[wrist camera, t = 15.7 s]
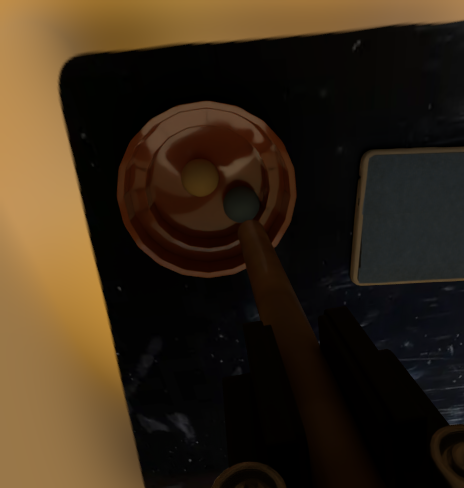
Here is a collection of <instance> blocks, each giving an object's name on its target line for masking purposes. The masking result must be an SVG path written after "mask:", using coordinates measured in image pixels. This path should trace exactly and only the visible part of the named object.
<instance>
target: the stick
mask: <svg viewBox="0 0 464 488" xmlns="http://www.w3.org/2000/svg"><path fill="white" fill-rule="evenodd" d="M238 239H239V242H240V246H241V250H242V253H243V257H244V261H245V264H246V268H247V272H248V276H249V279H250V283H251V287H252V290H253V294H254V298H255V302H256V305H257V309H258V313H259V316H260V320H261V321H262V322H263V325H270V324H271V326H272V330H273V333H274V336H275V339H276V342H277V345H278V348H279V351H280V354H281V358H282V361H283V364H284V367H285V370H286V373H287V376H288V379H289V382H290V386H291V389H292V392H293V395H294V398H295V401H296V404H297V407H298V410H299V414H300V417H301V420H302V423H303V426H304V430H305V434H306V438H307V443H308V449H309V458H310V467H311V476H312V485H313V488H387V486H386V484H385V482H384V481H383V479H382V477H381V475H380V473H379V471H378V468H377V466H376V464H375V462H374V460H373V458H372V456H371V454H370V451H369V449H368V447H367V445H366V443H365V441H364V439H363V437H362V434H361V432H360V430H359V428H358V426H357V424H356V422H355V420H354V418H353V415H352V413H351V411H350V409H349V407H348V405H347V403H346V401H345V398H344V396H343V394H342V392H341V390H340V388H339V386H338V384H337V382H336V379H335V377H334V375H333V373H332V371H331V369H330V367H329V365H328V362H327V360H326V358H325V356H324V354H323V352H322V350H321V348H320V345H319V343H318V341H317V339H316V337H315V334H314V332H313V330H312V328H311V326H310V324H309V322H308V320H307V318H306V315H305V313H304V311H303V309H302V307H301V305H300V303H299V301H298V299H297V296H296V294H295V292H294V290H293V288H292V286H291V284H290V282H289V280H288V277H287V275H286V273H285V271H284V269H283V267H282V265H281V263H280V261H279V258H278V256H277V254H276V252H275V250H274V248H273V246H272V244H271V242H270V239H269V237H268V235H267V233H266V231H265V229H264V227H263V225H262V224H261V223H260V222H258V221H256V220H247V221H244V222H243V223H242V224H241V225H240V226H239V228H238Z"/></svg>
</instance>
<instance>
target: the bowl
mask: <svg viewBox="0 0 464 488" xmlns="http://www.w3.org/2000/svg"><path fill="white" fill-rule="evenodd" d="M200 158H201V159H206V160H208V161H210V162H211V163H212V164H213V165H214V166H215V167H216V169H217V171H218V174H219V181H218V185H217V187H216V189H215V190H214V191H213V192H212V193H211V194H209V195H207V196H203V197H197V196H194V195H191V194H190V193H188V192H187V191H186V190H185V188H184V187H183V185H182V182H181V173H182V170H183V168H184V166H185V165H186V164H187V163H188V162H189V161H191V160H194V159H200ZM238 186H245V187H249V188H251V189H252V190H253V191H254V192H255V193H256V194H257V196H258V198H259V201H260V207H259V211H258V213H257V215H256V216H255V217H254V218H253V219H252V220H256V221H258V222H260V223H261V224H262V225H263V227H264V229H265V231H266V233H267V235H268V237H269V239H270V242H271V244H272V246H273V248H275V247H276V246H277V245H278V243H279V241H280V240H281V238H282V236H283V234H284V233H285V231H286V229H287V228H288V226H289V224H290V222H291V219H292V215H293V210H294V206H295V201H296V197H297V193H296V182H295V171H294V167H293V164H292V162H291V160H290V157H289V155H288V153H287V150H286V148H285V146H284V144H283V142H282V141H281V139H280V138H279V137H278V136H277V135H276V134H275V133H274V132H273V131H272V129H271V128H270V127H269V126H268V125H267V124H266V123H265V122H264V121H263V120H262V119H260V118H258V117H256V116H255V115H253V114H251V113H249V112H247V111H246V110H244V109H242V108H240V107H239V106H236V105H231V104H225V103H220V102H214V101H209V100H205V101H199V102H192V103H186V104H180V105H176V106H174V107H172V108H170V109H168V110H166V111H165V112H163V113H161V114H159V115H157V116H155V117H153V118H152V119H150V120H149V121H148V122H147V123H146V124H145V125H144V126H143V128H142V129H141V130H140V131H139V132H138V133H137V134H136V135H135V136H134V137H133V139H132V140H131V141H130V142H129V145H128V147H127V150H126V152H125V154H124V157H123V159H122V161H121V164H120V166H119V170H118V184H117V200H118V204H119V208H120V212H121V216H122V219H123V223H124V225H125V227H126V228H127V230H128V231H129V233H130V235H131V236H132V238H133V239H134V241H135V242H136V244H137V246H139V248H140V249H141V250H143V251H144V252H145V253H146V254H147V255H149V256H150V257H151V258H152V259H153V260H154V261H156V262H157V263H158V264H159V265H162V266H164V267H166V268H169V269H171V270H173V271H175V272H178V273H180V274H182V275H189V276H197V277H204V278H212V277H219V276H225V275H231V274H234V273H238V272H240V271H242V270H244V269H246V264H245V261H244V257H243V253H242V250H241V246H240V242H239V239H238V228H239V226H240V225H241V224H242V223H238V222H235V221H233V220H231V219H230V218H229V217H228V216H227V215H226V213H225V211H224V207H223V201H224V198H225V196H226V194H227V193H228V192H229V191H230V190H231V189H232V188H235V187H238Z"/></svg>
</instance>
